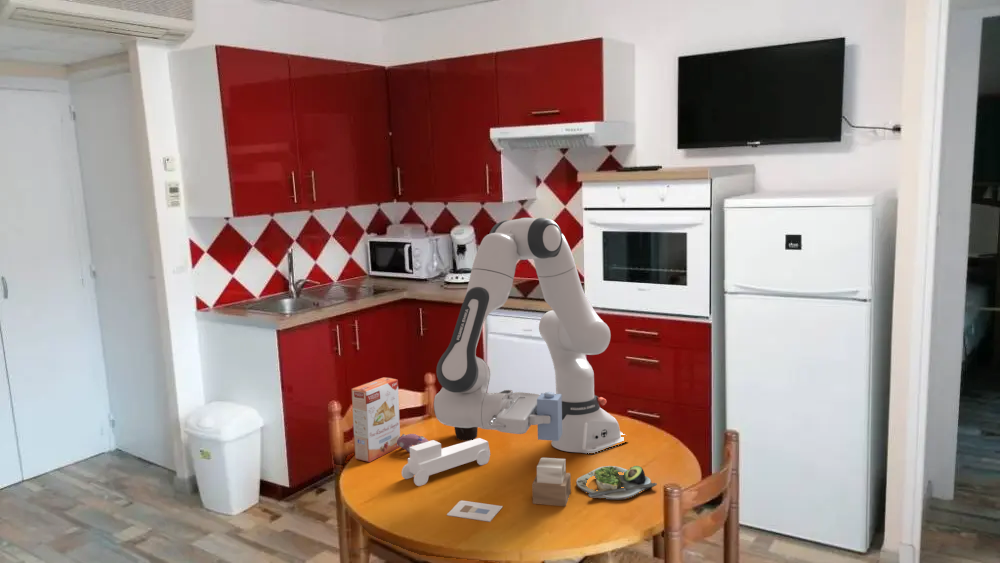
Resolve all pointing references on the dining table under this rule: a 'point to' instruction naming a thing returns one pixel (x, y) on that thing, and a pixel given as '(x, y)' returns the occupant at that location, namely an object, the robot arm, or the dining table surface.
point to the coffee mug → (466, 433)
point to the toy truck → (443, 458)
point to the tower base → (552, 492)
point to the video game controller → (410, 441)
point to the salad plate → (616, 482)
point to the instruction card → (475, 510)
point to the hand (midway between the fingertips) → (553, 414)
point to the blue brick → (553, 407)
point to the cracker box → (375, 418)
